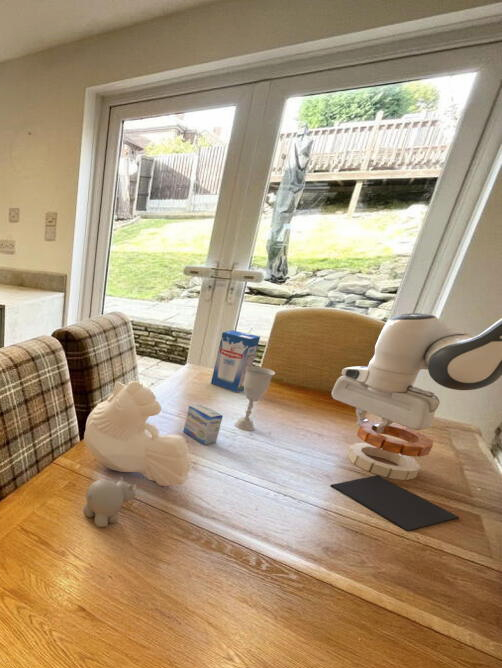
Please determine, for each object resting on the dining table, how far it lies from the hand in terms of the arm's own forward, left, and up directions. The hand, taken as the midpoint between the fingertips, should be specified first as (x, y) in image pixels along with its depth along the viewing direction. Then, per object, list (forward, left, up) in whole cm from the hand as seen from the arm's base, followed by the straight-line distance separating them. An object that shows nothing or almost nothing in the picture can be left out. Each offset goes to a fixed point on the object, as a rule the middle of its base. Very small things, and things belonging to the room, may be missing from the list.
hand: (368, 428), depth 102 cm
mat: (-16, +14, -8) cm, 23 cm away
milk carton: (+47, -3, -8) cm, 48 cm away
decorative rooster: (+8, +64, -8) cm, 65 cm away
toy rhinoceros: (-4, +76, -8) cm, 77 cm away
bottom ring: (-5, 0, -8) cm, 9 cm away
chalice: (+20, +17, -8) cm, 27 cm away
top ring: (-5, 0, -1) cm, 5 cm away
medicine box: (+18, +35, -8) cm, 40 cm away
